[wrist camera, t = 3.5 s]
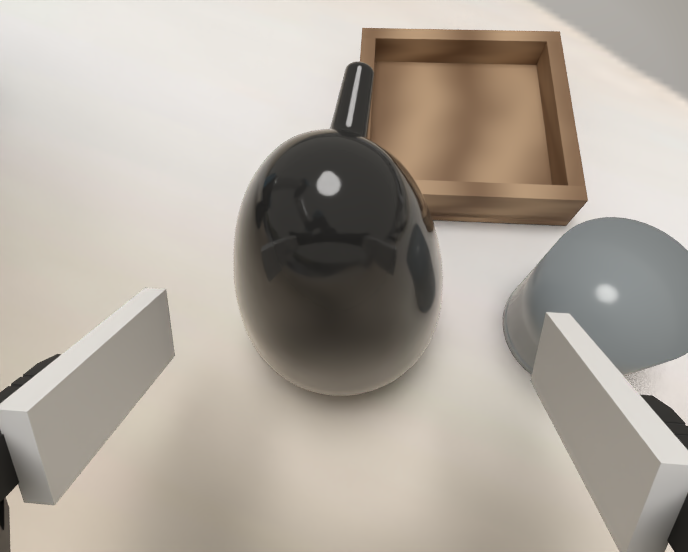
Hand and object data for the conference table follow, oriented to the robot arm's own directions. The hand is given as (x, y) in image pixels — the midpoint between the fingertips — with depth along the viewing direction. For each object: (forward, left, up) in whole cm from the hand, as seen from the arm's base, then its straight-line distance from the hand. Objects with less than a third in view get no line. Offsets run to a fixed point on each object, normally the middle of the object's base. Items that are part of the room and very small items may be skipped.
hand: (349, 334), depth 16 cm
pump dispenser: (-1, +4, -11) cm, 12 cm away
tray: (+6, +18, -11) cm, 22 cm away
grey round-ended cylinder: (+12, +4, -11) cm, 17 cm away
